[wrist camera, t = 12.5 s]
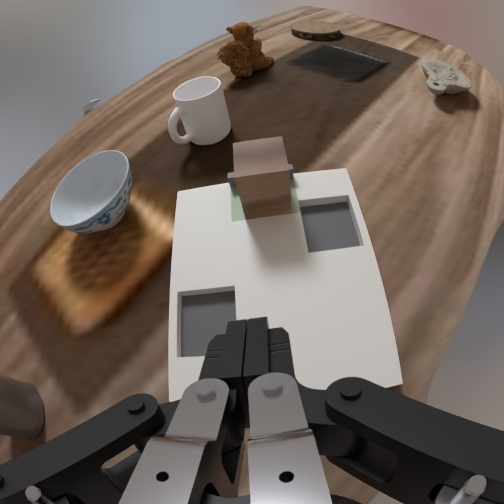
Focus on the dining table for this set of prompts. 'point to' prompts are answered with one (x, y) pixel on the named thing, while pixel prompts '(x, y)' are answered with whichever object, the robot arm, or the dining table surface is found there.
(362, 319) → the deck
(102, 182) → the chinaware
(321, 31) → the wood slice
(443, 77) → the oil lamp
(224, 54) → the stuffed squirrel
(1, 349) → the dining table surface
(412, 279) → the dining table surface
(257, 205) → the block
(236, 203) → the pad
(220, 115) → the mug
